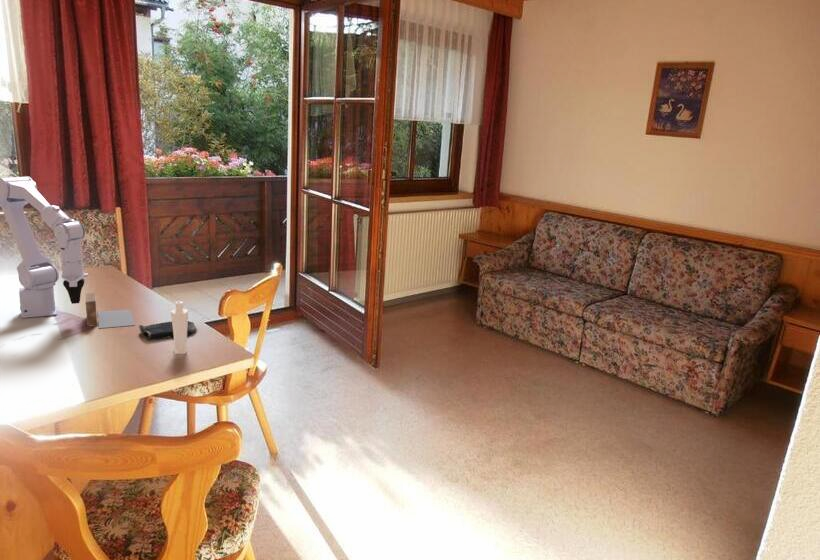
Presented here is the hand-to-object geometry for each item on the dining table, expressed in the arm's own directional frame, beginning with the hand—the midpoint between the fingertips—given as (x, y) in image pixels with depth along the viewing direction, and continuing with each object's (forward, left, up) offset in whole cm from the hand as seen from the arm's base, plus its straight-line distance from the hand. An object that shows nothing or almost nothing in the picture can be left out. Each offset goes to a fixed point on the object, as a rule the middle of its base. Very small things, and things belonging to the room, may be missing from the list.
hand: (75, 302), depth 179 cm
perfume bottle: (+26, -34, -7) cm, 43 cm away
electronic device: (+25, -18, -7) cm, 32 cm away
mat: (+11, 0, -6) cm, 13 cm away
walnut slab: (+4, 0, -6) cm, 8 cm away
